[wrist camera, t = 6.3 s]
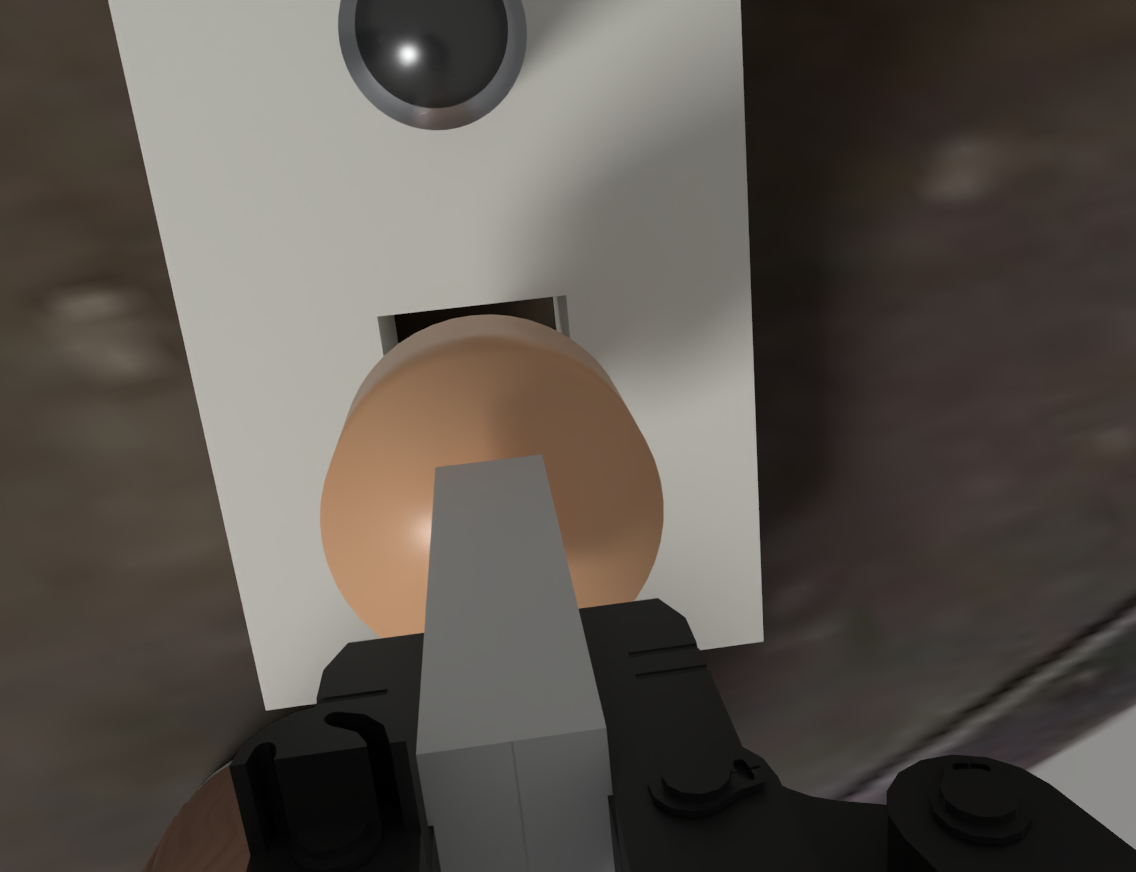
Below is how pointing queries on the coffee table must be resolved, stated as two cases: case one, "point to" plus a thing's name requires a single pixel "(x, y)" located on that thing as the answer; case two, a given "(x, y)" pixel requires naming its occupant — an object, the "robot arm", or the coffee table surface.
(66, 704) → the coffee table surface
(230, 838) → the coffee cup
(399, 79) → the pot post
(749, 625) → the mount board
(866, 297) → the coffee table surface
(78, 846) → the coffee table surface
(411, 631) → the knob terracotta
